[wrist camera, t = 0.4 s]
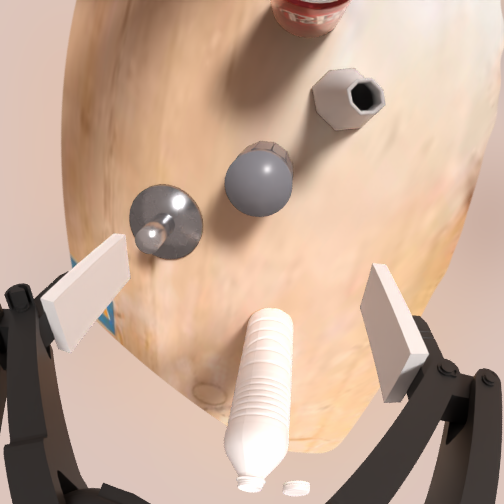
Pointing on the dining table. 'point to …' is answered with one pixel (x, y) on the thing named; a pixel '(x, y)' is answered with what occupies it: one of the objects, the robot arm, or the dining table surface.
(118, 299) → the dining table surface
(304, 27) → the soda can
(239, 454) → the water bottle
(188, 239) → the round base
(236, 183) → the grey domed cylinder
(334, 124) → the flask
